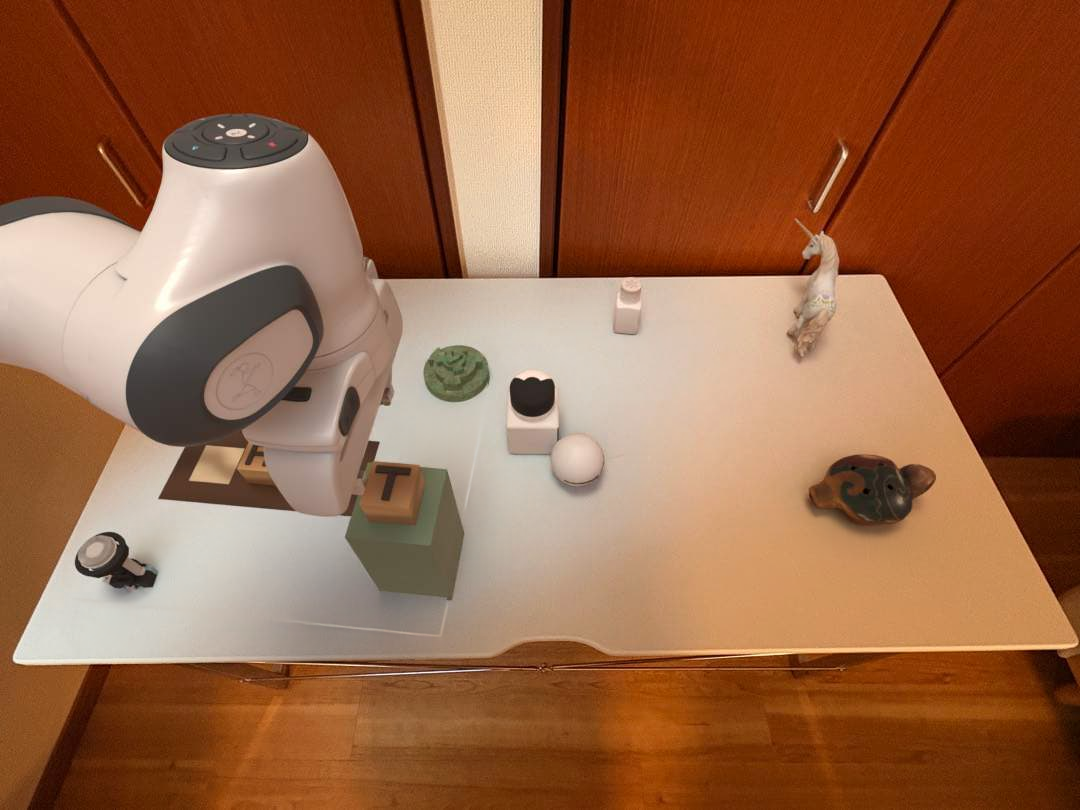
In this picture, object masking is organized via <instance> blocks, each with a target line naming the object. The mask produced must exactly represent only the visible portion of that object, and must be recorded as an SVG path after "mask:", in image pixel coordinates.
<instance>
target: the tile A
mask: <svg viewBox="0 0 1080 810" xmlns="http://www.w3.org/2000/svg"><path fill="white" fill-rule="evenodd" d="M237 470H238V471H239V472H240V473H241V475H242V476H243V477H244V478H245V480H246V481H247V482H248V483H252V484H264V485H275V483H274V481H273V480H272V478H271V476H270V475H269V472H268V470H267V468H266V464H265V460H264V447H262V446H258V445H253V444H250V443H248V445H247V447H246V449H245V452H244V454H243V456H242V458H241V460H240V463H239V465H238V467H237ZM275 486H276V485H275Z"/></svg>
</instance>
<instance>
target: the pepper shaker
mask: <svg viewBox="0 0 1080 810" xmlns="http://www.w3.org/2000/svg"><path fill="white" fill-rule="evenodd" d="M642 288H643V284H642V281H641V280H640V279H639V278H637V277H634V276H629V277H625V278H623V279H622V281H621V283H620V290H619V291H618V292H617V293H616V301H615V309H614V317H613V326H612V327H613V332H614V333H617V334H626V335H636V334H637V333H638V328H639V324H640V318H641V314H642V313H641V312H642V306H643V295H642Z"/></svg>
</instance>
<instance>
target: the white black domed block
mask: <svg viewBox="0 0 1080 810" xmlns="http://www.w3.org/2000/svg"><path fill="white" fill-rule="evenodd" d="M559 395H560V393H559V387H558V386H556V384H555V381H554V379H553V378H552V377H551V376H550V375H549V374H547V373H545V372H543V371H541V370H537V369H528V370H524V371H522V372H521V371H520V372H519V373H518V374H516V375H515V376H514V377H513V378H512V380H511V381H510V384H509V386H508V389H507V406H506V422H505V423H506V424H505V428H506V436H507V437H506V439H507V449H508V453H509V454H511V455H551V453H552V450H553V447H554V446H555V444H556V442H558V441H559V438H560V437H559V435H560V433H559V431H560V417H559V416H560V415H559V414H560V410H559V409H560V407H559V406H560V402H559V401H560V400H559Z"/></svg>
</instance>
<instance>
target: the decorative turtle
mask: <svg viewBox="0 0 1080 810" xmlns="http://www.w3.org/2000/svg"><path fill="white" fill-rule="evenodd" d="M936 480H937V473H935V471H934V470H932V469H931V468H930V467H927V466H925V465H923V464H919V463H909V464H907V465H904V466H902V467H900V468H899V466H897V465H896V464H895V462H894V461H893V460H891V459H890V458H887V457H884V456H882V455H877V454H867V453H865V454H864V453H861V454H852V455H848V456H844V457H841V458H840V459H838V460H836V461H835V462H833V463H831V465H830V466H829V468H828V469H827V470H826V473H825V475H824V478H823V480H822V481H820V482H818V483H815V484H814V485H810V486H809V488H808V493H809V495H808V496H809V500H810V502H811V504H812V505H813V507H814V508H817V509H832V508H833V509H840V510H842V511H843V512H844V513H845V514H846V515H848V518H849V521H850V522H851V523H852V524H854V525H858V526H877V525H878V526H879V525H890V524H895V523H899V522H901V521H903V520H905V519H906V518H907V517H908V516H909V515H910V513H911V511H912V510H913V500H914V499H916V498H918V497H920V496H922V495H923V494H925V493H926V492H928V491H929V490H930V489H931V488H932V487H933V485H934V484H935V483H936Z"/></svg>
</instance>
